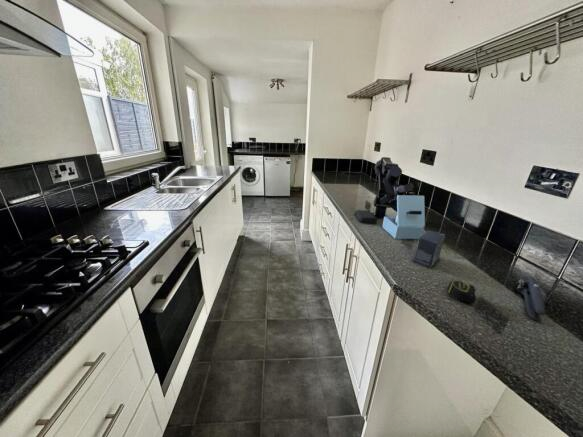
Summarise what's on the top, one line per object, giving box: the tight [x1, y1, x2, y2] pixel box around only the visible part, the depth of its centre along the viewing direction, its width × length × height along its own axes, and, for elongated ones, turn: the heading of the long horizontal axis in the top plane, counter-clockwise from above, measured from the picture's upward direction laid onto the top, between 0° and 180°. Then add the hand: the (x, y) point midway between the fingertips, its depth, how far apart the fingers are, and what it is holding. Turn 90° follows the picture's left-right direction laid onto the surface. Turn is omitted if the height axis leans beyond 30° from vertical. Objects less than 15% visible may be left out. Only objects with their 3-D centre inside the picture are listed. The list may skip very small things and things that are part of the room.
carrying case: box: [353, 209, 378, 224], centre depth 128 cm, size 11×3×15 cm
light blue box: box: [382, 216, 425, 240], centre depth 112 cm, size 14×13×6 cm
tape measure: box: [447, 280, 477, 305], centre depth 70 cm, size 7×7×4 cm
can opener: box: [515, 276, 548, 322], centre depth 67 cm, size 18×7×6 cm, turn 140°
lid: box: [396, 194, 426, 228], centre depth 103 cm, size 14×13×4 cm
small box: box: [413, 229, 446, 269], centre depth 88 cm, size 11×6×10 cm, turn 135°
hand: (405, 213), depth 111 cm, fingers closed on bottle, 5 cm apart
